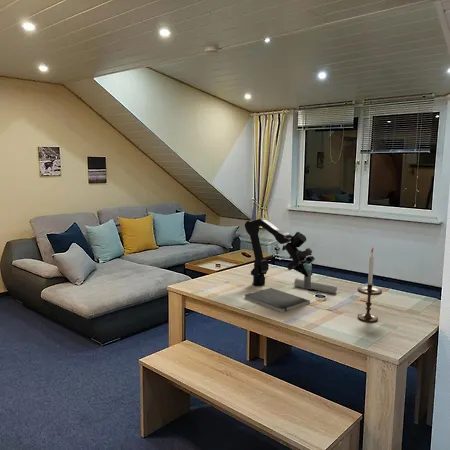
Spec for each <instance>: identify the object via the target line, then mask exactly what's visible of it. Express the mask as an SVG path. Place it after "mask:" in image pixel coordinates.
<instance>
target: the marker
mask: <svg viewBox="0 0 450 450" xmlns="http://www.w3.org/2000/svg"><path fill="white" fill-rule="evenodd" d="M304 269H305V270H306V272H307V274H308V277H306V276H305V275H303V279H304V288H303V289H306V290H307V289H308V290H311V289H310V288H311V281H312V275H311V270H312V263H310V264H305V265H304Z"/></svg>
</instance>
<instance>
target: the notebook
mask: <svg viewBox="0 0 450 450" xmlns="http://www.w3.org/2000/svg"><path fill="white" fill-rule="evenodd" d="M244 299H245V300H248V301H251V302H253V303H256V304H258V305H260V306H264V307H267V308H270V309H271V310H274V309H275V311H277V312H280V313H283V312H287V311H291V310H293V309H294V310H295V309H296V308H300V307H302V306H306V305H309V304H311V303H310V302H311V301H310V299H306V298H303V297H300V296H297V295H294V294H291V293H288V292H284V291H282V290H279V289H275V288H272V287H269V288H266V289H265V288H264V289H262V290H261V289H260V290H258V291H253V292H251V293H247V294H244Z"/></svg>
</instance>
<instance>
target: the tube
mask: <svg viewBox="0 0 450 450" xmlns="http://www.w3.org/2000/svg"><path fill="white" fill-rule="evenodd" d="M294 286H295V287H298V288H302V289H305V288H304V278H303V279H302V278H298V277H296V278H295V279H294ZM337 287H338V286H336V285H335V284H331V283H330V284H329V283H324V282H319V281H313V280H311V288H310V289H309V290H312V289H314V290H313V291H317V290H318V291H319V292H323V293H329V294H336V293H337V291H338V288H337Z"/></svg>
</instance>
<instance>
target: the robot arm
mask: <svg viewBox="0 0 450 450" xmlns="http://www.w3.org/2000/svg"><path fill="white" fill-rule="evenodd" d="M260 227H262V228H263V229H264V230H266V231H267V232H268V233H270V235H272V236H273V237H274V238H275V240H276V241H277V242H278V243H279V244H280V245H282V249H281V250H282V251H286V252H287V254H288V255H289V259H291V261H290V262H289V263H287V265H286V268H287V269H288V271H291V270H294V271H296V272H298V273H300V274H302V275H303V276H304V275H305V276H306V277H308V274H307V272H306V270H305V269H304V265H305V264H312V263H313V262H314V261H315V259H316V258H315V257H314V256H313V254H312V253H313V250H312V249H311V247H308V248H305V250H303V251H302V249H301V250H299V248H300V247H302V245H303V244H305V242H307V239H308V238H307V237H306V235H304V234H303V233H301V232H300V231H296V232H295V234H294V235H292V234H291V233H289V232H287V231H286V230H281V229H279V228H278V227H276V225H274V224H273V223H272V222H270V221H269V220H267V218H265V217H263V218H258V219H252V220H247V221H245V223H244V229H245V231H246V234H248V236H249V237H250V242H251V245H252V246H251V247H252V251H253V255H254V261H253V268H252V270H251V271H250V275H251V276H252V282H251V283H252V285H253V286H254V287H262V286H263V287H264V286H265V284H266V276H265V275H267V273H268V270H269V267H270V265H269V261H268V259H265V257H264V255H263V251H262V246H261V242H260V236H259V232H260ZM293 268H294V269H293ZM311 276H313V271H312V270H311Z"/></svg>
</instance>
